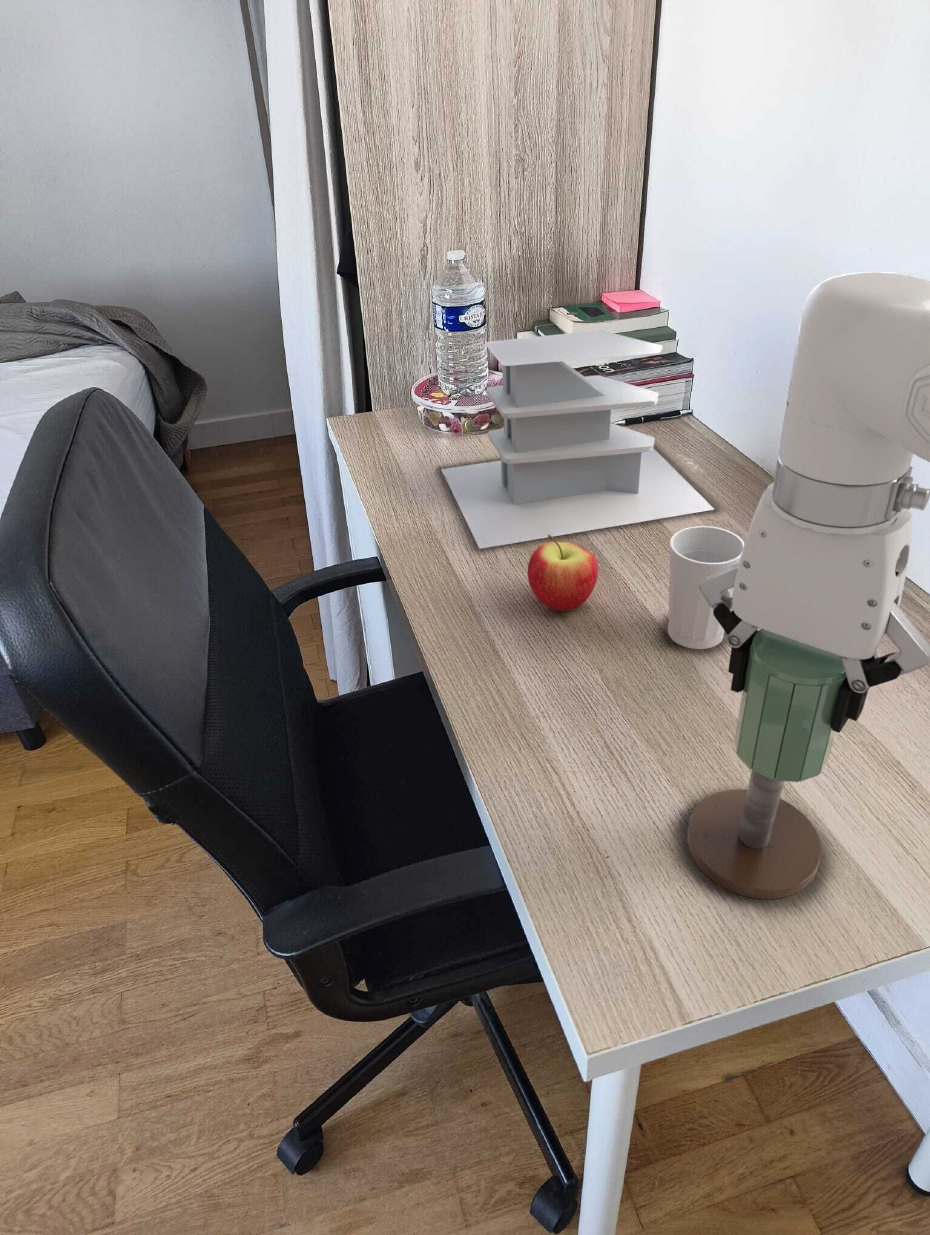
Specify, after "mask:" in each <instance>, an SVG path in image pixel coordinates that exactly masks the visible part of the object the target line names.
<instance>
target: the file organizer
mask: <svg viewBox="0 0 930 1235" xmlns="http://www.w3.org/2000/svg"><path fill="white" fill-rule="evenodd" d="M484 345H485V346H486V347H487V349H488V350H489V351H490V352H491V354H492V355H493V356H494V358H496V360H497V361H498V363H500V365H501V367H502V368H501V369H502V385H495V386H493V385H492V386H488V387H486V395H487V397H488V398H489V399H490V401H491V402H492V404H493V405H494V406H495V408H496V410H497V411H498V412H499V414H500V415H501V417H502V418H503V428H497V429H490V430H488V432H487V433H488V434H487V435H488V436H487V437H488V440H489V441H490V442H491V444H492V446H493V447H494V449H495V450H496V452H497V453H498V455H499V457H500V460H494V461H488V462H481V463H480V462H479V463H474V464H467V465H461V466H454V467H448V468H441V472H442V474H443V477H444V478H445V480H446V483H447V484H448V487H449V489H450V490H451V492H452V495H453V497H454V499H455V501H456V504H457V505H458V507H459V509H460V512H461V513H462V515H463V517H464V520H465V523H466V524H467V526H468V528H469V531H470V532H471V534H472V537H473V538H474V541H475V542H476V546H477V547H478V548H479V550H482V549H488V548H493V547H498V546H499V547H501V546H504V545H511V544H516V543H517V544H518V543H523V542H528V541H534V540H535V541H536V540H541V539H547V538H549V537H548V535H551V536H552V537H553V538H554V537H559V536H564V535H570V534H577V533H582V532H583V533H584V532H587V531H594V530H595V531H596V530H600V529H606V528H612V527H613V528H614V527H619V526H626V525H631V524H637V523H643V522H648V521H649V522H650V521H654V520H660V519H661V520H662V519H666V518H674V517H678V516H685V515H691V514H696V513H702V512H708V511H714V510H716V509H715V508H714V507H713V505H711V504H710V503H709V502H708V501H707V500H706V499H705V498H704V497H703V496H702V495H701V494H700V493H699V492H698V491H697V490H696V489H695V488H694V487H693V486H692V485H691V484H690V483H689V482H688V481H687V480H686V479H685V478H684V477H683V476H682V475H681V474H680V473H679V472H678V471H677V470H676V469H675V468H674V467H673V466H672V465H671V464H670V463H669V462H668V461H667V460H666V459H665V458H664V457H663V456H662V455H661V454H660V453H659V451H657V449H655V448H654V446H655V441H656V440H655V439H656V438H655V437H654V436H651V435H648V434H645V433H642V432H641V431H640V432H639V431H637V430H634V429H630V428H627V427H624V426H621V425H618V424H615V423H613V422H611V416H612V410H622V409H634V408H644V407H645V408H646V407H654V406H657V403H658V401H659V392H657V391H654V390H650V389H647V388H644V387H640V386H638V385H633V384H630V383H627V382H624V381H620V380H617V379H613V378H611V377H610V378H609V377H606V376H603V375H599V374H598V375H586V376H584V375H583V374H581V373H580V372H578V371H577V370H576V369H574V368H573V367H571V366H570V365H569V364H567V363H566V362H570V361H580V360H581V361H583V360H593V359H606V358H616V357H629V356H641V355H651V354H653V355H655V354H660V353H661V352H662V349H663V345H662V344H658V343H654V342H649V341H645V340H643V339H642V340H641V339H638V338H634V337H631V336H630V337H629V336H625V335H621V334H618V333H615V332H614V333H613V332H610V331H606V330H599V329H598V330H590V331H589V330H587V331H579V332H568V333H560V334H559V333H558V334H549V335H541V336H540V335H539V336H531V337H520V338H510V339H500V340H491V341H490V340H489V341H486V342H484Z"/></svg>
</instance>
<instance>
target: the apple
mask: <svg viewBox="0 0 930 1235" xmlns="http://www.w3.org/2000/svg"><path fill="white" fill-rule="evenodd" d="M548 538H549V539H551V540H552V541H549V542H545V543H543V544H540V545H539V546H538V547H537V548H536V549H535V550H534V551H533V552H532V554H531V556H530V558H529V560H528V565H527V580H528V583H529V586H530V589H531V591H532V593H533V595H534V597H536V599H537V600H538V601H539V602H540V603H541V604H542V605H544V606H545V607H546V608H548V609H551V610H553V611H558V612H566V611H572V610H575V609H579V607H581V606H582V605H584V604H585V603H586V601H587V600H588V599H589V597H590V596H591V594H592V593H593V591H594V589H595V587H596V583H597V581H598V576H599V565H598V561H597V560H598V559H597V558H596V557H595V555H594V554H593V553H592V552H590V551H589V550H588V549H585V548H584V547H581V546H579V545H577V544H575V543H570V542H566V541H557V540H556V539H555V538H554V537H552V536H551V535H548Z"/></svg>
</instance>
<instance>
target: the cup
mask: <svg viewBox="0 0 930 1235" xmlns="http://www.w3.org/2000/svg"><path fill="white" fill-rule="evenodd" d="M744 544H745V541H744V539H742V538H741V537H740V536H739V535H738V534H736V533H734V532H732V531H730V530H727V529H725V528H721V527H717V526H711V525H710V526H708V525H697V526H689V527H685V528H682V529H680V530H678V531H676V532H675V533H674V534H672V536H671V537H670V540H669V588H668V589H669V590H668V592H669V593H668V623H667V624H668V625H667V634H668V637H670V639H671V640H672V641H673V642H674V643H676V644H678V645H679V646H682V647H684V648H686V649H687V648H688V649H691V650H692V649H693V650H706V649H707V650H708V649H711V648H714V647H716V646H718V645H719V644H720V643H721V642H722V641H723V639H724V634H725V631H724V629H723V628H722V626H721V625H720V624H719V622H718V621H717V619H716V618H715V617H714V615H713V608H712V606H711V607H710V606H709V604H708V602H707V601H706V599H705V598H704V596H703V595H702V593H701V591H700V589H699V585H700V584H701V583H702V582H703V581H704V580H705V579H706V578H707V577H708V576H710V575H712V574H714V573H717V572H719V571H722V570H724V569H726V568H729V567H731V566H733V565H736V564H738V563H739V562H740V558H741V554H742V551H743V547H744ZM733 590H734V587H733V588H730V589H728V592H729V594H730V595H729V596H730V597H731V598H733Z"/></svg>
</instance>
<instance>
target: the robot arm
mask: <svg viewBox="0 0 930 1235" xmlns="http://www.w3.org/2000/svg"><path fill="white" fill-rule="evenodd" d="M790 373H791V375H790V381H789V385H788V392H787V398H786V405H785V411H784V416H783V422H782V428H781V435H780V440H779V446H778V453H777V460H776V466H775V471H774V479H773V482H772V483H770V484H769V485H768V486H767V487H766V489H765V490H764V491H763V492H762V494H761V497H760V500H759V501H758V503H757V506H756V509H755V511H754V514H753V516H752V520H751V522H750V525H749V529H748V530H747V534H746V538H745V541H744V543H745V544H744V547H743V551H742V554H741V558H740V562H739V563H738V564H736V565H733V566H731V567H729V568H726V569H724V570H722V571H719V572H717V573H714V574H712V575H710V576H708V577H707V578H706V579H705V580H704V581H703V582H702V583H701V584H700V585H699V589H700V591H701V593H702V595H703V596H704V598H705V599H706V601H707V602H708V604H709V606H710V607H711V606H712V608H713V615H714V617H715V618H716V619H717V621H718V622H719V624H720V625H721V626H722V628H723V629H724V633H726V635H727V636H726V643H727V645H728V646H729V647H731V650H730V656H729V661H728V670H727V672H728V673H729V674H732V679H731V685H730V691H732V692H734V693H737V694H738V693H742V692H743V686H744V680H745V674H746V669H747V663H748V657H749V651H750V646H751V644H752V641H753V638H754V636H755V635H756V633H757V632H758V631H759V630H758V629H760V630H761V629H764V630H767V631H770V632H772V633H775V634H778V635H781V636H784V637H787V638H790V639H792V640H795V641H798V642H801V643H804V644H807V645H810V646H813V647H816V648H819V649H822V650H825V651H828V652H831V653H834V654H837V655H840V658H841V661H842V664H843V667H844V670H845V673H846V677H847V679H846V681H845V682H844V684H842V686H841V687H840V689H839V692H838V696H837V700H836V704H835V708H834V712H833V716H832V720H831V724H830V728H832V730H833V731H835V732H836V733H838V734H840V733H841V731H842V730H843V728H844V727H845V725H846V724H847V722H848V721H849V720H851V721H854V722H857V721H858V720H859V718H860V716H861V715H862V712H863V710H864V706H865V703H866V700H867V696H868V693H869V689H870V688H873V687H876V686H878V685H881V684H885V683H888V682H891V681H894V680H897V679H898V678H899V676H902V675H905V674H907V675H908V674H909V673H912V672H914V671H917V670H919V669H922V668H924V667H927V666H928V665H929V664H930V643H929V641H928V640H927V638H926V637H925V636H924V635H923V634H922V633H921V631H920V630H919V629H918V628H917V627H916V625H915V624H914V623H913V622H912V621H911V619H910V618H909V616H908V615H906V613H905V612H904V611H903V609H902V608H901V607H900V605H901V602H902V596H903V591H904V587H905V582H906V577H907V571H908V566H909V558H910V552H911V551H910V550H911V541H912V524H913V522H912V513H911V511H910V510H911V509H914V510H919V511H924V510H925V509H926V507H927V504H928V503H929V499H930V488H928V487H924V486H919V483H916V482H914V477H913V476H911V474H912V472H913V469H914V468H913V466H911V465H912V460H913V457H914V456H916V457H917V458H920V459H921V460H924V461H926V462H928V463H930V280H928V279H926V278H923V277H920V276H916V275H911V274H906V273H899V272H886V271H862V272H850V273H845V274H840V275H836V276H833V277H830V278H827V279H825V280H823V281H822V282H820V283H818V284H817V285H815V286H814V287H813V289H812V290H811V291H810V292H809V294H808V295H807V297H806V299H805V302H804V303H803V307H802V312H801V315H800V320H799V325H798V331H797V338H796V344H795V349H794V356H793V362H792V367H791V372H790ZM733 587H734V590H733V595H732V598H731V597H730V596H729V595H730V594H729V592H728V589H730V588H733ZM885 634H886V635H887V637H888V638H889V639H890V640H891V641H892V643H893V644H894V645H895V646H896V647H897V648H898V651H897V652H890V653H888V654H885V655H882V656H879V655H878V652H877V649H878V647H879V645H880V644H881V642H882V640H883V638H884V636H885Z"/></svg>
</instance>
